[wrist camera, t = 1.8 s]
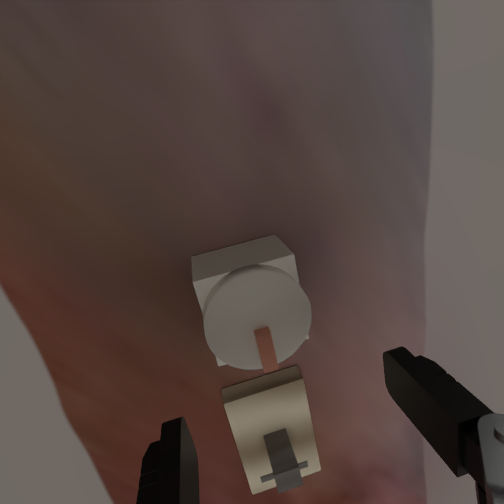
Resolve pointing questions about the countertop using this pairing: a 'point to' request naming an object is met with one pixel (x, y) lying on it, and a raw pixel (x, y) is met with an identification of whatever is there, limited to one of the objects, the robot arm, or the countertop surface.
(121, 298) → the countertop surface
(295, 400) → the board
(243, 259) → the knob
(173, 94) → the countertop surface
